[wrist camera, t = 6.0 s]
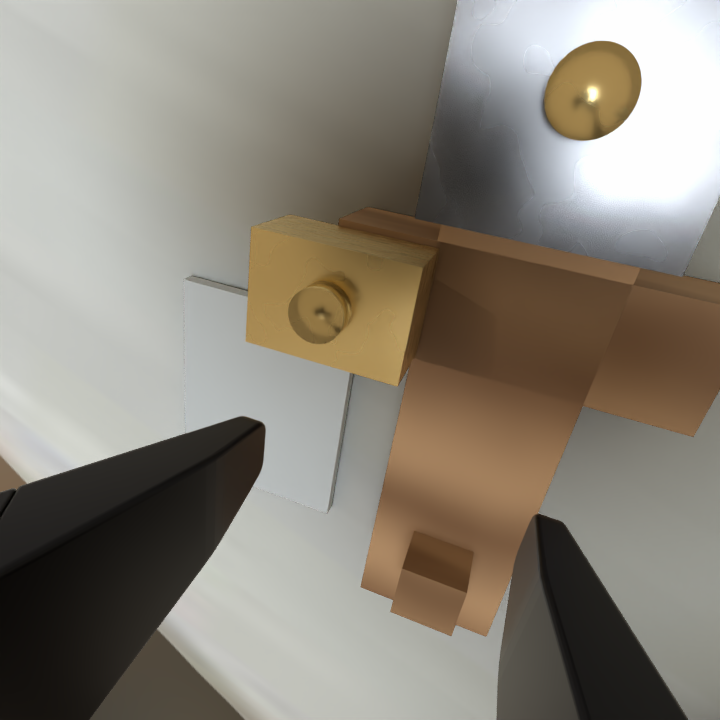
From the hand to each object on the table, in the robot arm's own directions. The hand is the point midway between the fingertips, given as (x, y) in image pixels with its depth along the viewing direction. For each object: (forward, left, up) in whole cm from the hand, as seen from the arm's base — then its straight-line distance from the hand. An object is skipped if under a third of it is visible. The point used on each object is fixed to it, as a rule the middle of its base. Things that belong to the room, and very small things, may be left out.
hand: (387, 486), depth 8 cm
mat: (-8, +8, -12) cm, 16 cm away
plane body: (-2, -2, -12) cm, 12 cm away
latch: (0, +4, -9) cm, 10 cm away
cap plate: (+6, -2, -9) cm, 11 cm away
